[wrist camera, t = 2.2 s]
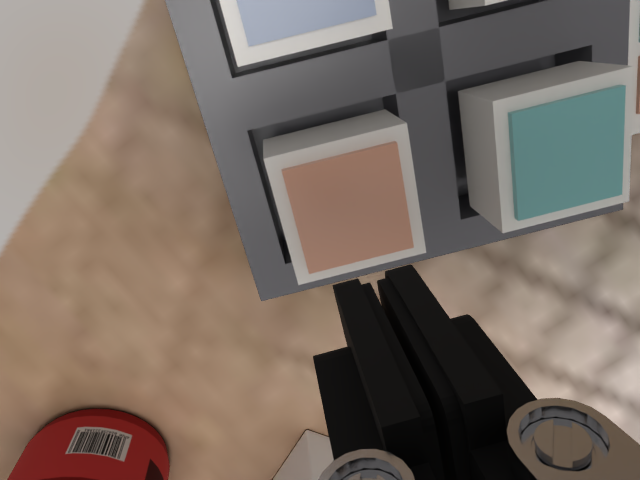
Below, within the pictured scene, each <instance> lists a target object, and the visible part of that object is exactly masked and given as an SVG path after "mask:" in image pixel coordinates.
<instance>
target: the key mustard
mask: <svg viewBox="0 0 640 480" xmlns="http://www.w3.org/2000/svg"><path fill="white" fill-rule="evenodd" d="M448 1H449V10H453V9H461V8H470V7H479V6H486V5H490V4H494V3H498V2H502V1H506V0H448Z"/></svg>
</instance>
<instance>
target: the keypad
mask: <svg viewBox="0 0 640 480" xmlns="http://www.w3.org/2000/svg"><path fill="white" fill-rule="evenodd" d="M165 2H166V5H167V8H168V11H169V14H170V17H171V20H172V24H173V27H174V30H175V33H176V36H177V39H178V42H179V45H180V49H181V52H182V55H183V58H184V61H185V64H186V67H187V70H188V74H189V77H190V80H191V83H192V86H193V89H194V92H195V96H196V99H197V102H198V105H199V108H200V111H201V114H202V117H203V121H204V124H205V127H206V130H207V133H208V136H209V139H210V142H211V146H212V149H213V152H214V155H215V158H216V161H217V164H218V168H219V171H220V174H221V177H222V180H223V183H224V186H225V189H226V193H227V196H228V199H229V202H230V205H231V208H232V211H233V214H234V218H235V221H236V224H237V227H238V230H239V233H240V236H241V240H242V243H243V246H244V249H245V252H246V255H247V258H248V261H249V265H250V268H251V271H252V274H253V277H254V280H255V283H256V287H257V290H258V293H259V296H260V299H261V301H264V300H268V299H272V298H276V297H280V296H284V295H288V294H292V293H296V292H300V291H304V290H307V289H311V288H315V287H319V286H323V285H327V284H331V283H335V282H339V281H343V280H347V279H351V278H355V277H359V276H363V275H367V274H370V273H374V272H378V271H382V270H386V269H390V268H394V267H398V266H402V265H406V264H410V263H414V262H418V261H422V260H426V259H430V258H433V257H437V256H441V255H445V254H449V253H453V252H457V251H461V250H465V249H469V248H473V247H477V246H481V245H485V244H489V243H493V242H497V241H500V240H504V239H508V238H512V237H516V236H520V235H524V234H528V233H532V232H536V231H540V230H544V229H548V228H552V227H556V226H560V225H563V224H567V223H571V222H575V221H579V220H583V219H587V218H591V217H595V216H599V215H603V214H607V213H611V212H615V211H619V210H623V203H620V204H616V205H612V206H608V207H604V208H601V209H597V210H593V211H589V212H585V213H581V214H577V215H573V216H569V217H565V218H561V219H557V220H553V221H549V222H545V223H541V224H537V225H534V226H530V227H526V228H522V229H518V230H514V231H510V232H506V233H502V232H500V231H499V230H498V229H497V228H496V227H494V226H493V225H492V224H491V223H490V222H488V221H487V220H486V219H485V218H484V217H482V216H481V215H480V214H479V213H478V212H476V211H475V210H474V209H473V208H472V207H471V206H470V203H469V193H468V184H467V174H466V164H465V155H464V145H463V136H462V126H461V116H460V107H459V97H458V91H460V90H464V89H468V88H472V87H476V86H480V85H484V84H488V83H492V82H496V81H500V80H504V79H508V78H512V77H516V76H520V75H524V74H528V73H532V72H536V71H540V70H544V69H548V68H552V67H556V66H560V65H564V64H568V63H572V62H576V61H586V62H596V63H607V64H618V65H628V47H629V17H630V0H506V1H502V2H498V3H494V4H490V5H486V6H479V7H470V8H461V9H453V10H449V1H448V0H389V7H390V13H391V20H392V27H393V29H389V30H385V31H381V32H377V33H373V34H369V35H365V36H361V37H357V38H353V39H349V40H345V41H341V42H337V43H333V44H329V45H325V46H321V47H317V48H312V49H308V50H304V51H300V52H296V53H292V54H288V55H284V56H280V57H276V58H272V59H268V60H264V61H260V62H256V63H252V64H248V65H244V66H240V67H238V66H237V62H236V59H235V55H234V52H233V48H232V44H231V41H230V37H229V34H228V30H227V27H226V23H225V19H224V16H223V12H222V9H221V5H220V1H219V0H165ZM384 109H386V110H387V111H389V112H390V113H392V114H393V115H395V116H397V117H398V118H400V119H401V120H403V121H405V122H406V123H407V127H408V133H409V140H410V147H411V153H412V160H413V167H414V174H415V180H416V187H417V194H418V200H419V207H420V214H421V220H422V227H423V234H424V240H425V247H426V253H423V254H419V255H415V256H411V257H407V258H403V259H400V260H396V261H392V262H388V263H384V264H380V265H376V266H372V267H368V268H364V269H360V270H356V271H352V272H348V273H344V274H340V275H336V276H333V277H329V278H325V279H321V280H317V281H313V282H309V283H305V284H301V285H298V282H297V278H296V274H295V271H294V267H293V264H292V260H291V256H290V253H289V249H288V246H287V242H286V239H285V235H284V231H283V228H282V224H281V221H280V217H279V213H278V210H277V206H276V203H275V199H274V195H273V192H272V188H271V185H270V181H269V177H268V174H267V170H266V167H265V163H264V159H263V140H264V139H268V138H272V137H276V136H280V135H284V134H288V133H292V132H296V131H300V130H304V129H308V128H312V127H316V126H320V125H324V124H328V123H332V122H336V121H340V120H344V119H348V118H352V117H356V116H360V115H364V114H368V113H372V112H376V111H380V110H384Z"/></svg>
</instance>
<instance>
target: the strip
mask: <svg viewBox="0 0 640 480" xmlns="http://www.w3.org/2000/svg"><path fill="white" fill-rule="evenodd" d="M628 65H629V66H634V89H633V115H632V135H634V134H638V133H640V0H630V17H629V47H628Z"/></svg>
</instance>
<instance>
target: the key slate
mask: <svg viewBox="0 0 640 480" xmlns="http://www.w3.org/2000/svg"><path fill="white" fill-rule="evenodd" d="M219 1H220V5H221V9H222V12H223V16H224V19H225V23H226V27H227V30H228V34H229V37H230V41H231V44H232V48H233V52H234V55H235V59H236V62H237V66H238V67H240V66H244V65H248V64H252V63H256V62H260V61H264V60H268V59H272V58H276V57H280V56H284V55H288V54H292V53H296V52H300V51H304V50H308V49H312V48H317V47H321V46H325V45H329V44H333V43H337V42H341V41H345V40H349V39H353V38H357V37H361V36H365V35H369V34H373V33H377V32H381V31H385V30H389V29H393V27H392V20H391V13H390V7H389V0H219Z"/></svg>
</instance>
